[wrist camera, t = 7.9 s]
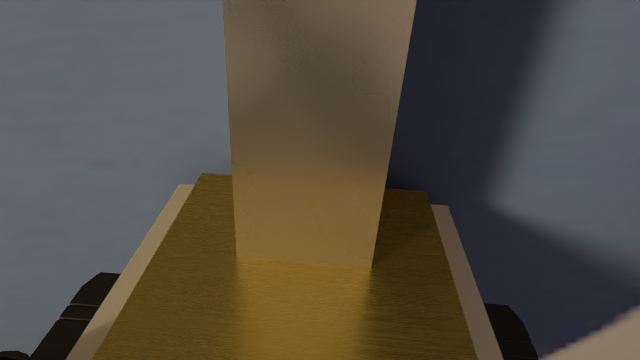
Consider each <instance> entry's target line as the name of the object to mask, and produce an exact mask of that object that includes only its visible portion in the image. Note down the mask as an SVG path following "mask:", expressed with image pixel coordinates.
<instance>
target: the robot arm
mask: <svg viewBox="0 0 640 360" xmlns="http://www.w3.org/2000/svg"><path fill="white" fill-rule="evenodd" d="M194 186H195V185H187V184H179V185H178V187H177V188H176V190H175V192H174V193H173V195H172V196H171V198H170V199H169V201H168V202H167V204H166V205H165V207H164V209H163V210H162V212H161V213H160V215H159V216H158V218H157V219H156V221H155V222H154V224H153V226H152V227H151V229H150V230H149V232H148V233H147V235H146V236H145V238H144V239H143V241H142V242H141V244H140V246H139V247H138V249H137V250H136V252H135V253H134V255H133V256H132V258H131V259H130V261H129V263H128V264H127V266H126V267H125V269H124V270H123V272H122V273H121V274H115V273H103V272H100V273H99V274H98V275H96V276H95V277H94V278H92V279H91V280H90V281H88V282H87V283H86V284H84V285H83V286H82V287H81V288H80V290H79V291H78V293H77V294H76V295H75V297H74V298H73V299H72V301H71V302H70V306H67V307H66V309H65V310H64V312H63V313H62V314H61V316H60V319H59V320H57V321H56V322H55V324H54V325H53V327H52V328H51V329H50V331H49V332H48V333H47V335H46V336H45V337H44V339H43V340H42V342H41V343H40V344H39V346H38V347H37V348H36V350H35V351H34V352H33V354H32V355H31V357H29V356H28V354H25V353H22V352H19V351H2V352H0V360H92V359H93V357H94V355H95V354H96V352H97V350H98V349H99V347H100V345H101V343H102V342H103V340H104V338H105V337H106V335H107V333H108V332H109V330H110V328H111V327H112V325H113V323H114V321H115V320H116V318H117V316H118V315H119V313H120V311H121V310H122V308H123V306H124V304H125V303H126V301H127V299H128V298H129V296H130V294H131V293H132V291H133V289H134V287H135V286H136V284H137V282H138V281H139V279H140V277H141V276H142V274H143V272H144V271H145V269H146V267H147V265H148V264H149V262H150V260H151V259H152V257H153V255H154V254H155V252H156V250H157V248H158V247H159V245H160V243H161V242H162V240H163V238H164V237H165V235H166V233H167V231H168V230H169V228H170V226H171V225H172V223H173V221H174V220H175V218H176V216H177V215H178V213H179V211H180V209H181V208H182V206H183V204H184V203H185V201H186V199H187V198H188V196H189V194H190V192H191V191H192V189H193V187H194ZM431 207H432V210H433V214H434V217H435V220H436V224H437V227H438V230H439V233H440V237H441V240H442V243H443V247H444V250H445V253H446V256H447V260H448V263H449V266H450V269H451V273H452V276H453V279H454V283H455V286H456V289H457V292H458V296H459V299H460V302H461V306H462V309H463V312H464V315H465V319H466V322H467V325H468V329H469V332H470V335H471V338H472V342H473V345H474V348H475V351H476V355H477V358H478V360H538V355H537V353H536V350H535V348H534V346H533V345H532V344H531V339H530V337H529V335H528V332H527V330H526V328H525V326H524V323H523V322H522V321H521V320H520V318H519V317H518V316H517V315H516V314H515V313H514V312H513V311H512V310H511V308H510V307H509V306H508V305H496V304H484V303H483V301H482V299H481V296H480V293H479V290H478V288H477V285H476V282H475V279H474V277H473V274H472V271H471V268H470V266H469V263H468V260H467V257H466V255H465V252H464V249H463V246H462V244H461V241H460V238H459V235H458V233H457V230H456V227H455V224H454V221H453V219H452V216H451V213H450V210H449V208H448V206H446V205H434V204H431Z"/></svg>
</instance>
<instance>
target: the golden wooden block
mask: <svg viewBox="0 0 640 360" xmlns="http://www.w3.org/2000/svg"><path fill="white" fill-rule="evenodd" d="M416 1H417V0H222V2H223V20H224V38H225V56H226V74H227V92H228V110H229V128H230V146H231V165H232V175H220V174H208V173H202V174H201V175H200V177H199V179H198V181H197V182H196V184H195V186H194V187H193V189H192V191H191V192H190V194H189V196H188V198H187V199H186V201H185V203H184V204H183V206H182V208H181V209H180V211H179V213H178V215H177V216H176V218H175V220H174V221H173V223H172V225H171V226H170V228H169V230H168V231H167V233H166V235H165V237H164V238H163V240H162V242H161V243H160V245H159V247H158V248H157V250H156V252H155V254H154V255H153V257H152V259H151V260H150V262H149V264H148V265H147V267H146V269H145V271H144V272H143V274H142V276H141V277H140V279H139V281H138V282H137V284H136V286H135V287H134V289H133V291H132V293H131V294H130V296H129V298H128V299H127V301H126V303H125V304H124V306H123V308H122V310H121V311H120V313H119V315H118V316H117V318H116V320H115V321H114V323H113V325H112V327H111V328H110V330H109V332H108V333H107V335H106V337H105V338H104V340H103V342H102V343H101V345H100V347H99V349H98V350H97V352H96V354H95V355H94V357H93V359H92V360H478V358H477V355H476V351H475V348H474V345H473V342H472V338H471V335H470V332H469V329H468V325H467V322H466V319H465V315H464V312H463V309H462V306H461V302H460V299H459V296H458V292H457V289H456V286H455V283H454V279H453V276H452V273H451V269H450V266H449V263H448V260H447V256H446V253H445V250H444V247H443V243H442V240H441V237H440V233H439V230H438V227H437V224H436V220H435V217H434V214H433V210H432V207H431V204H430V201H429V197H428V194H427V191H416V190H404V189H392V188H385V184H386V178H387V172H388V166H389V160H390V154H391V148H392V142H393V136H394V131H395V125H396V119H397V113H398V107H399V101H400V95H401V89H402V84H403V78H404V72H405V66H406V60H407V54H408V48H409V42H410V36H411V31H412V25H413V19H414V13H415V7H416Z"/></svg>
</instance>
